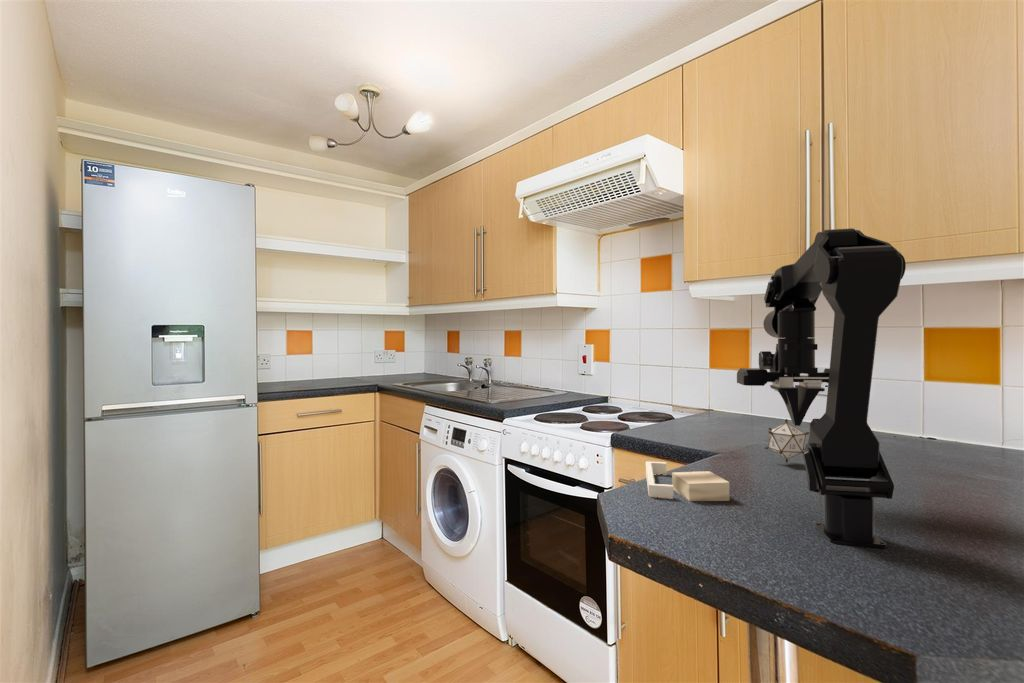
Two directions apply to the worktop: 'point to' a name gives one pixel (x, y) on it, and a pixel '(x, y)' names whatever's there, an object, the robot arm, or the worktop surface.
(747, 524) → the worktop surface
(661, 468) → the cream u-shaped piece
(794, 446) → the game die
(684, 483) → the birch block
